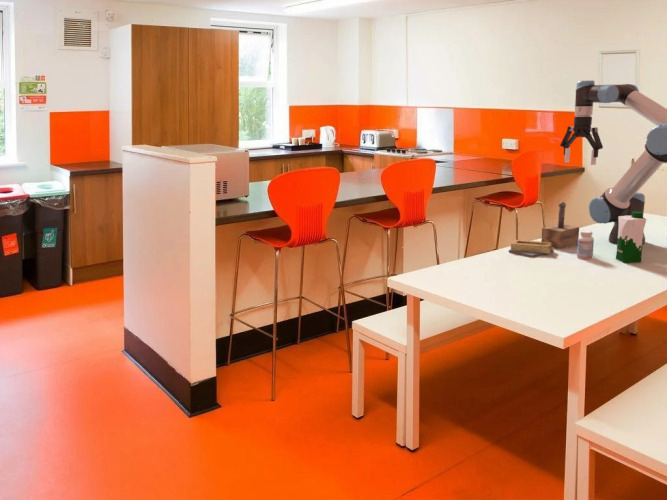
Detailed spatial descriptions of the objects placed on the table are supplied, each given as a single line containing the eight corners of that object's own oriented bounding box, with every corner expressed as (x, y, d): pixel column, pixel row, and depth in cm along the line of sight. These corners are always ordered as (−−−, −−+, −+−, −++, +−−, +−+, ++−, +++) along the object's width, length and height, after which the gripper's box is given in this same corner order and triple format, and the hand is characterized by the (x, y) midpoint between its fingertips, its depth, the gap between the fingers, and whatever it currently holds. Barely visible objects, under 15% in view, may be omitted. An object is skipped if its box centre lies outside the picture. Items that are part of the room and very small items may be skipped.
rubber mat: (553, 251, 288) (553, 249, 288) (531, 257, 280) (531, 255, 279) (530, 246, 298) (530, 244, 297) (508, 252, 289) (508, 250, 289)
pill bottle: (580, 255, 282) (582, 229, 280) (594, 257, 278) (596, 231, 275) (574, 257, 278) (576, 231, 275) (588, 260, 274) (590, 233, 271)
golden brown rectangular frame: (549, 253, 282) (549, 246, 281) (510, 250, 288) (511, 243, 287) (551, 249, 289) (551, 242, 288) (513, 246, 295) (513, 239, 294)
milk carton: (644, 263, 268) (649, 214, 263) (622, 264, 268) (627, 214, 263) (633, 257, 277) (637, 210, 272) (612, 258, 276) (616, 210, 271)
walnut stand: (578, 244, 300) (581, 201, 295) (560, 249, 292) (563, 205, 288) (559, 240, 308) (561, 198, 303) (541, 245, 300) (543, 202, 296)
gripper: (554, 115, 307) (551, 161, 312) (603, 117, 287) (599, 166, 293) (564, 114, 311) (561, 160, 316) (613, 116, 292) (609, 165, 297)
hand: (579, 163), depth 304 cm, fingers open, 13 cm apart
